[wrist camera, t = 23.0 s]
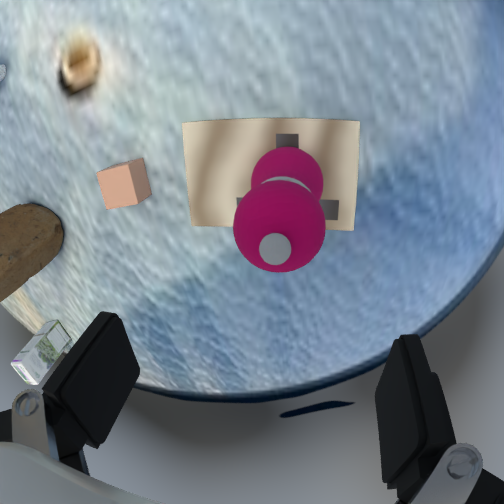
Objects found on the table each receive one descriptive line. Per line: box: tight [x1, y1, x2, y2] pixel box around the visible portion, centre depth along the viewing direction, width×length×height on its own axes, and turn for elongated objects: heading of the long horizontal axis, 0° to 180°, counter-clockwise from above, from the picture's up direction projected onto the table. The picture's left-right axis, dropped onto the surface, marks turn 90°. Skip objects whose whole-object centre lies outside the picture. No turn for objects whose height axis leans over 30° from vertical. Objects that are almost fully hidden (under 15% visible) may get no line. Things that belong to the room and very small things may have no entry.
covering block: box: [97, 158, 152, 210], centre depth 36 cm, size 5×5×4 cm
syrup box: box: [11, 320, 72, 385], centre depth 50 cm, size 6×6×14 cm
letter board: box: [182, 118, 360, 231], centre depth 35 cm, size 20×13×1 cm, turn 92°
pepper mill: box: [233, 147, 326, 272], centre depth 25 cm, size 7×7×20 cm
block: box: [0, 204, 63, 302], centre depth 35 cm, size 11×8×20 cm
